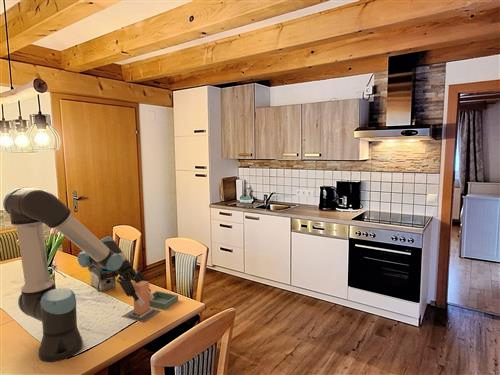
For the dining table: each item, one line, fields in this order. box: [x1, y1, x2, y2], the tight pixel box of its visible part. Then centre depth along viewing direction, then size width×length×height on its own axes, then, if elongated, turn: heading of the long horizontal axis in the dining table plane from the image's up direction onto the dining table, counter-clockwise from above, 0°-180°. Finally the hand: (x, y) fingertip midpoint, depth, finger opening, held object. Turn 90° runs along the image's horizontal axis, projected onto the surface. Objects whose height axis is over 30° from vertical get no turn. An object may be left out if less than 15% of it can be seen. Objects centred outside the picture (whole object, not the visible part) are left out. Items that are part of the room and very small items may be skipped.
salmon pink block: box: [133, 280, 150, 315], centre depth 154 cm, size 6×4×14 cm, turn 157°
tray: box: [149, 290, 179, 311], centre depth 167 cm, size 11×14×4 cm
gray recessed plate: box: [120, 307, 162, 324], centre depth 155 cm, size 12×14×3 cm
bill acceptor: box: [87, 265, 119, 292], centre depth 188 cm, size 10×23×25 cm, turn 44°
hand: (147, 302), depth 153 cm, fingers closed on salmon pink block, 6 cm apart
